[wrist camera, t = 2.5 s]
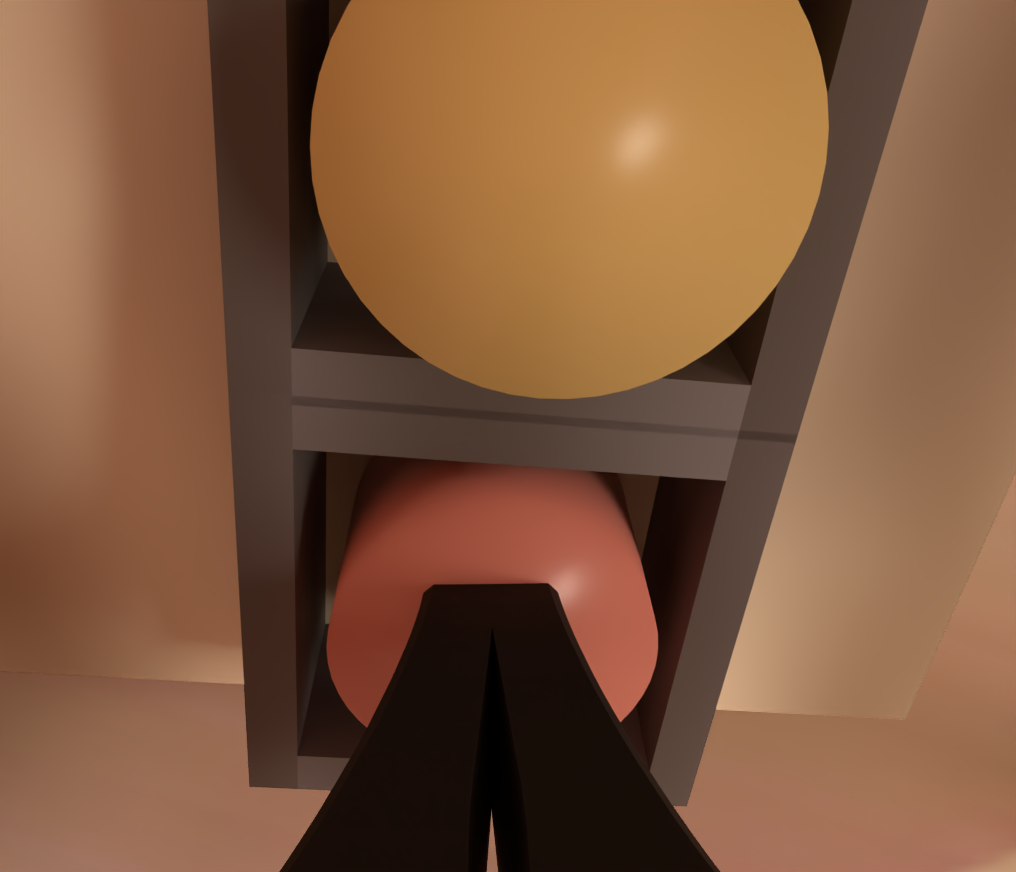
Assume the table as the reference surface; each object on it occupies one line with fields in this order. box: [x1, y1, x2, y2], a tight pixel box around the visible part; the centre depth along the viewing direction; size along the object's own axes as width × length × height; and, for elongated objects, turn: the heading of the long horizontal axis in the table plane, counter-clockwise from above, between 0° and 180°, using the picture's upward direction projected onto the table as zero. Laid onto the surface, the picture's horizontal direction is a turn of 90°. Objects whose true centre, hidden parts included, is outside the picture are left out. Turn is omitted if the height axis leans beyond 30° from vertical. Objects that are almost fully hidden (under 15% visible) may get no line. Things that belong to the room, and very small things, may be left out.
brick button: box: [326, 455, 658, 727], centre depth 11 cm, size 4×4×2 cm
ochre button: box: [310, 0, 829, 399], centre depth 8 cm, size 4×4×2 cm
